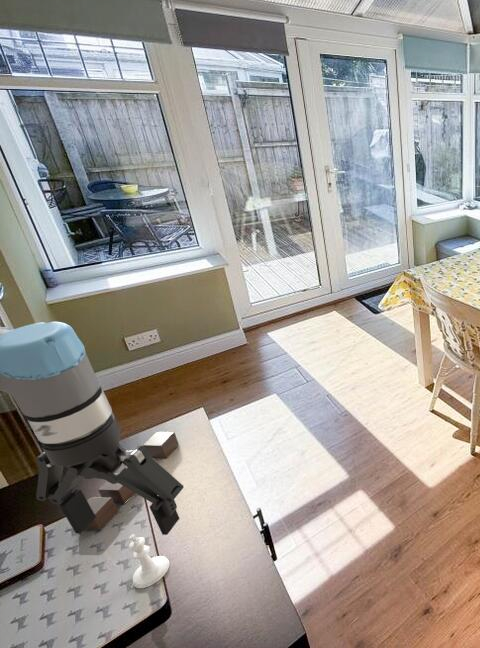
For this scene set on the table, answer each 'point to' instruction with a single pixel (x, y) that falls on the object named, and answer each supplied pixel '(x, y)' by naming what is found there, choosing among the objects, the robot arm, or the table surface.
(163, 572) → the chess piece
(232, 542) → the table surface
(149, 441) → the walnut block
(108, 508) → the walnut block
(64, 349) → the robot arm
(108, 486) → the walnut block
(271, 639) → the table surface
